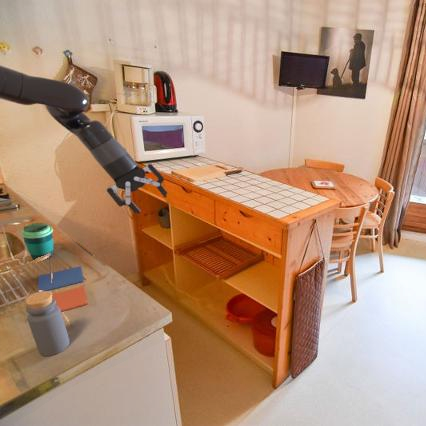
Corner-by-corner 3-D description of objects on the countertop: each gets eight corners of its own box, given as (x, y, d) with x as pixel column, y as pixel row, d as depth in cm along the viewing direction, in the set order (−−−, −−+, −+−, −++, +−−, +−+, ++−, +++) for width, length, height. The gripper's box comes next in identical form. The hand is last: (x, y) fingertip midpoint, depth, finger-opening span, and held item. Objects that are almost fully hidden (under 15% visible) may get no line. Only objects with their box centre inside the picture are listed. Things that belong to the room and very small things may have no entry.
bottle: (72, 348, 77) (57, 298, 72) (40, 360, 74) (22, 309, 68) (67, 334, 81) (53, 286, 75) (37, 345, 77) (20, 295, 71)
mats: (37, 318, 85) (36, 317, 85) (38, 276, 101) (38, 275, 101) (87, 304, 92) (86, 303, 92) (80, 267, 108) (80, 266, 108)
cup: (54, 249, 117) (45, 219, 112) (63, 256, 113) (55, 226, 108) (26, 257, 110) (15, 226, 106) (34, 266, 106) (24, 234, 102)
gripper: (87, 174, 82) (130, 221, 90) (137, 146, 86) (175, 193, 94) (91, 170, 89) (131, 214, 96) (137, 144, 93) (173, 188, 100)
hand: (153, 204), depth 95 cm, fingers open, 8 cm apart
